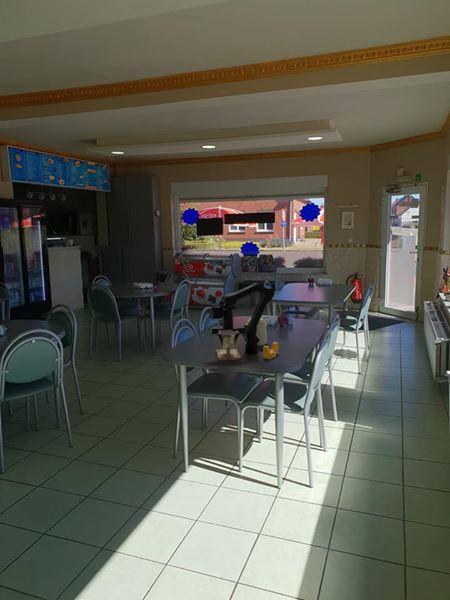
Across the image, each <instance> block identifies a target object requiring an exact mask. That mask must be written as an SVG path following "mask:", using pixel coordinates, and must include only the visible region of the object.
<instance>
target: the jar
mask: <svg viewBox="0 0 450 600" xmlns="http://www.w3.org/2000/svg"><path fill="white" fill-rule="evenodd" d="M251 318H252V317H250V318H248V319H247V320H246V323H245V325H248V324H249V322H250V320H251ZM267 326H268V323H266V319H264V318H262V317H261V318H260V321H259V323H258V325H257V333H256V336H257V337H258V338H259V339H260V340H259V343H257V347H258V346H266V344H267V342H268V340H267V339H268V338H267V331H268V329H267Z"/></svg>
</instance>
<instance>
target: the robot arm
mask: <svg viewBox="0 0 450 600" xmlns="http://www.w3.org/2000/svg"><path fill="white" fill-rule="evenodd" d="M255 292H257V293H259V297H258V299H259V300H258V302H257V304H256V306H255V309H254V311H253V314H252V316H251V317H250V318H251V320H250V322H249V324H248V325H246V324H244V325H243V326H242V325H239V326H238V325H237V326H236V327H234V310H238V308H237V307H236V306H235V304H237V303H238V301H239V300H241V299H243V298H245V297H247V296H249V295H251V294H254V293H255ZM275 293H276V292H275V289H273V288H271V287H267V286H263V285H260V283H256V282H254V283H251V284H250V285H248V286H246V287H244V288H241V289H240V290H237V291H236V292H231V293H227V294H223V295H222V296H221V299H220V302H218V304H217V306H210V309H209V311H208V316H209V319H210V320H219V321H218V322H219V323H218V325H219V326H211V328H210V333H211V335H215V336H218V338H219V341H220V344H221V347H222V346H223V342H222V335H223V334H222V333H225V332H226V333H227V332H228V333H230V332H234V335H233V336H234V338H235V344H236V343H237V340H238V338H239V336H241V338H242V339H244V341H245V343H244V352H245V354H249V355H250V354H251V355H252V354H259V352H258V346H257V343H259V340H260V339H259V338H258V337H257V336H256V333H257V325H258V323H259V321H260V318H262V317H263V313H264V312H265V309H266V307H267V306H268V304H269V303H270V302H271V301H272V300H273V298H274V297H275ZM219 327H221V328H219Z"/></svg>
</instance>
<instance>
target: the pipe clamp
mask: <svg viewBox="0 0 450 600" xmlns="http://www.w3.org/2000/svg"><path fill="white" fill-rule="evenodd" d="M262 348H263V349H262V351H263V352H262V353H263V354H262V356H263V357H262V358H263V359H268V360H271V359H273V358H275V357H276V356H277V355H278V354H279V342H275V341H274V342H272V344H271V348H270V346H267V345H263V347H262Z"/></svg>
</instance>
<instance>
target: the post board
mask: <svg viewBox="0 0 450 600" xmlns="http://www.w3.org/2000/svg"><path fill="white" fill-rule="evenodd" d="M215 352H216V356H217V360H218V361H241V359H242V357H241V355H240V352H239V351H238V349H237V348H227V349H223V348H222V349H215Z"/></svg>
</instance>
